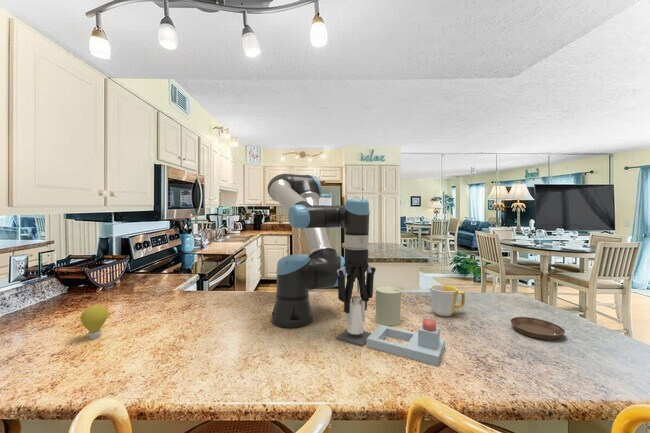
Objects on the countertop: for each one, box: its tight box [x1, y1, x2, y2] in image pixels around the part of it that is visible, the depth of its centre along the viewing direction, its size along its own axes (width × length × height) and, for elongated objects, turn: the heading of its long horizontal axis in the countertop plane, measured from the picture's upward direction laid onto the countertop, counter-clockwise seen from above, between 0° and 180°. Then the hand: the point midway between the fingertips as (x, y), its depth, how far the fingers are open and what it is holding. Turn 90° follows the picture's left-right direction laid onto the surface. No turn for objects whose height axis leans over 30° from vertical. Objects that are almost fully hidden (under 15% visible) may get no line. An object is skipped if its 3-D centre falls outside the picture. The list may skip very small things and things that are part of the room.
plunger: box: [422, 318, 437, 331], centre depth 82 cm, size 4×4×2 cm
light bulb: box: [79, 304, 109, 340], centre depth 89 cm, size 7×7×10 cm
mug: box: [429, 283, 466, 317], centre depth 113 cm, size 14×10×10 cm
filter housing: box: [366, 323, 446, 367], centre depth 85 cm, size 20×12×7 cm, turn 60°
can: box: [374, 285, 402, 327], centre depth 105 cm, size 9×9×12 cm
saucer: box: [510, 316, 566, 341], centre depth 97 cm, size 15×15×3 cm
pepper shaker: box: [346, 295, 364, 335], centre depth 91 cm, size 5×5×11 cm
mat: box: [335, 328, 373, 347], centre depth 91 cm, size 9×9×1 cm
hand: (355, 321), depth 91 cm, fingers closed on pepper shaker, 4 cm apart
